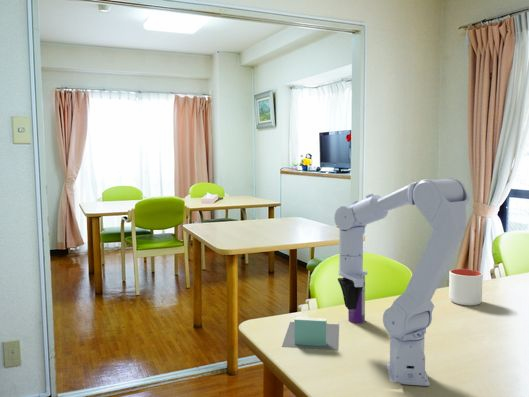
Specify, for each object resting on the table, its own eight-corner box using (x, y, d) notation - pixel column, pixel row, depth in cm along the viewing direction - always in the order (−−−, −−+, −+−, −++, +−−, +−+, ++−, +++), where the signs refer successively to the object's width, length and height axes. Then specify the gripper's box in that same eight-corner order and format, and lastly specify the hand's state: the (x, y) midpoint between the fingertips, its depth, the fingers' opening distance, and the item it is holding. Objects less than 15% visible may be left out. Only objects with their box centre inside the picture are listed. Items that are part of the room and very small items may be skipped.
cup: (442, 300, 153) (442, 270, 153) (463, 296, 158) (464, 267, 157) (466, 308, 144) (467, 277, 144) (488, 304, 149) (489, 274, 148)
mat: (338, 352, 112) (338, 350, 112) (281, 349, 114) (281, 346, 114) (339, 326, 130) (339, 324, 129) (290, 323, 132) (290, 321, 132)
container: (346, 323, 132) (346, 272, 130) (351, 318, 136) (351, 269, 135) (362, 326, 129) (362, 274, 128) (366, 321, 134) (367, 271, 132)
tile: (326, 346, 114) (326, 321, 114) (294, 344, 116) (294, 319, 115) (326, 343, 116) (326, 318, 116) (295, 341, 118) (295, 317, 117)
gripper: (376, 259, 106) (376, 317, 107) (358, 248, 120) (357, 298, 121) (346, 260, 105) (346, 318, 106) (332, 248, 119) (331, 299, 120)
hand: (350, 307), depth 113 cm, fingers closed
